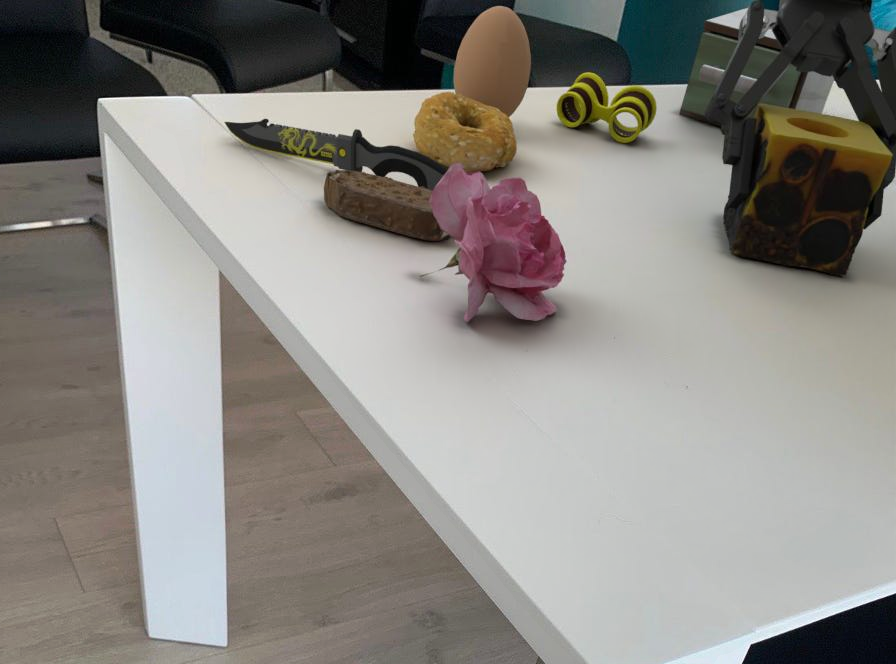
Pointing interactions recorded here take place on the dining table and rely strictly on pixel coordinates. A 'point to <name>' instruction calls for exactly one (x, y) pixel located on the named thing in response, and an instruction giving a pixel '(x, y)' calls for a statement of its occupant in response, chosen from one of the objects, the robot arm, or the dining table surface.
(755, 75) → the drawer
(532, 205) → the flower
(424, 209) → the ice cream bar
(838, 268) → the candle
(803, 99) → the cabinet
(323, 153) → the knife
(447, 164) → the bagel
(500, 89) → the egg
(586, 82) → the opera glasses
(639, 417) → the dining table surface
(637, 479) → the dining table surface
